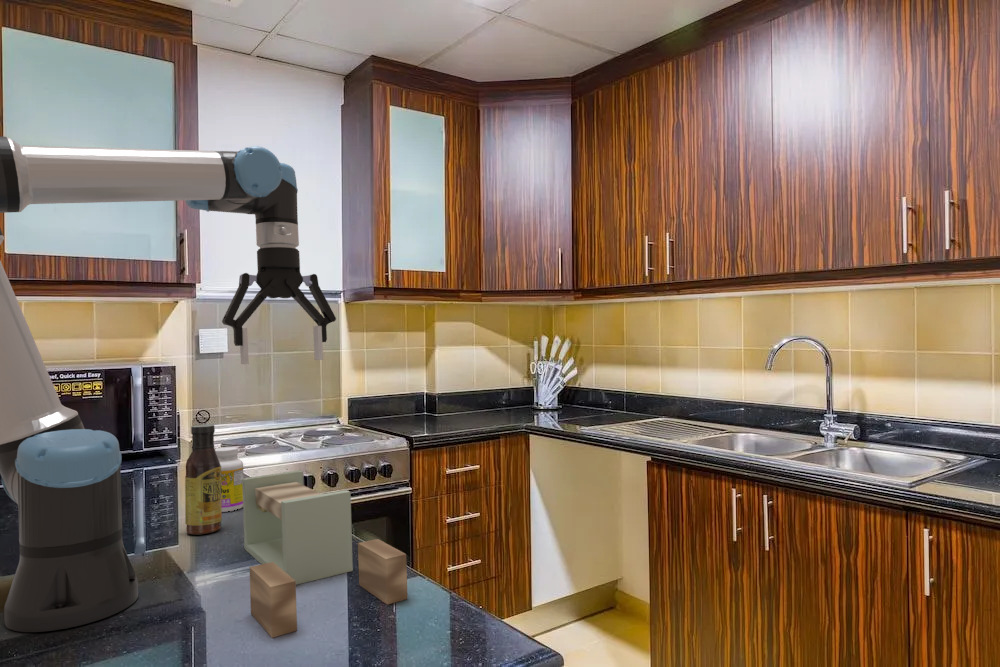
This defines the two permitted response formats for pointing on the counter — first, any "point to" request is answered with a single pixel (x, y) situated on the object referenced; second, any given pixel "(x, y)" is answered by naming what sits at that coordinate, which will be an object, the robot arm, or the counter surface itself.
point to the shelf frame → (299, 530)
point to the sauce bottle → (203, 484)
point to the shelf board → (280, 496)
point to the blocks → (278, 590)
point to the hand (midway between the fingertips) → (282, 362)
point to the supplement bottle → (230, 478)
